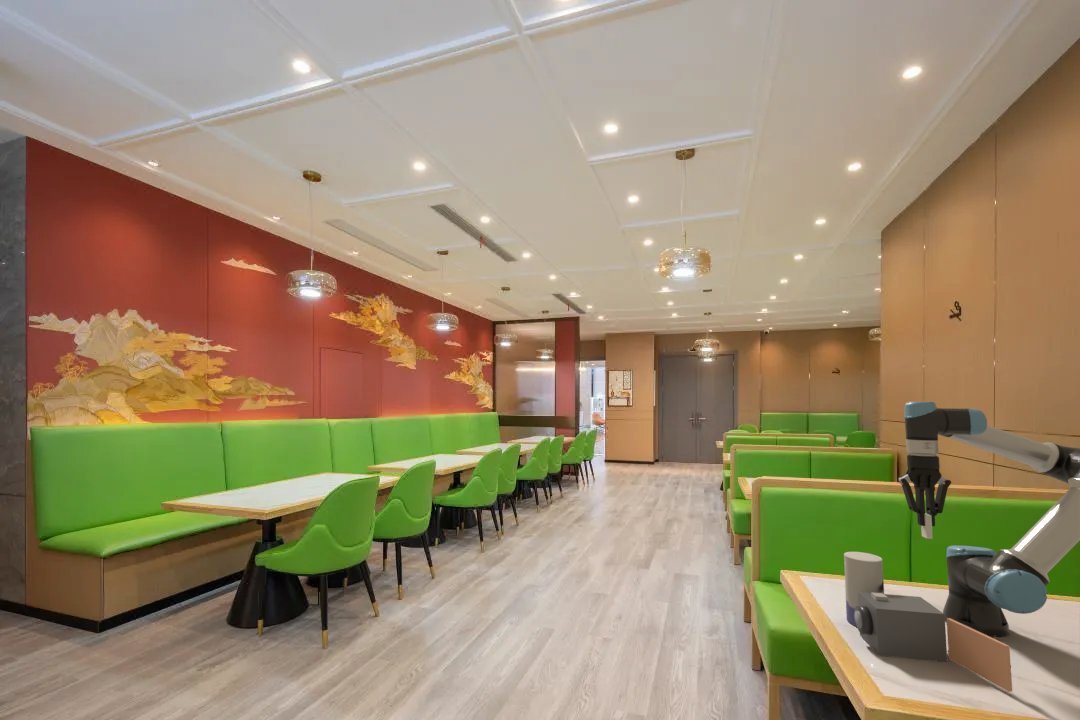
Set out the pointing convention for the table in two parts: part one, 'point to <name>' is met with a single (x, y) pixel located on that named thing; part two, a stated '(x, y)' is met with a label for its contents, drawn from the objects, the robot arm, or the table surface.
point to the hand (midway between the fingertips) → (927, 537)
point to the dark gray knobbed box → (901, 626)
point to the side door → (979, 654)
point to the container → (861, 578)
